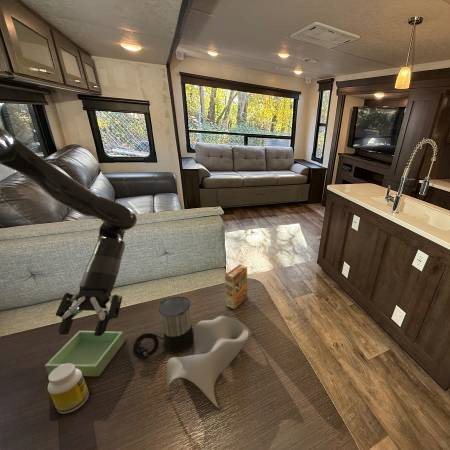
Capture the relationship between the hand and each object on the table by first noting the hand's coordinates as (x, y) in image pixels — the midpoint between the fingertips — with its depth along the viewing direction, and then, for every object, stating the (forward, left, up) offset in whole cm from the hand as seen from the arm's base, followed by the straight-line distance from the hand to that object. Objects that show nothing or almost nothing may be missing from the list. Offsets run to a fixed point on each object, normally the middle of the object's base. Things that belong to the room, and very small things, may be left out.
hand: (80, 335), depth 64 cm
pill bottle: (0, -7, -15) cm, 17 cm away
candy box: (+34, +32, -15) cm, 49 cm away
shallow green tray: (-5, +5, -15) cm, 17 cm away
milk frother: (+15, +10, -15) cm, 24 cm away
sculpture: (+32, +5, -15) cm, 36 cm away
